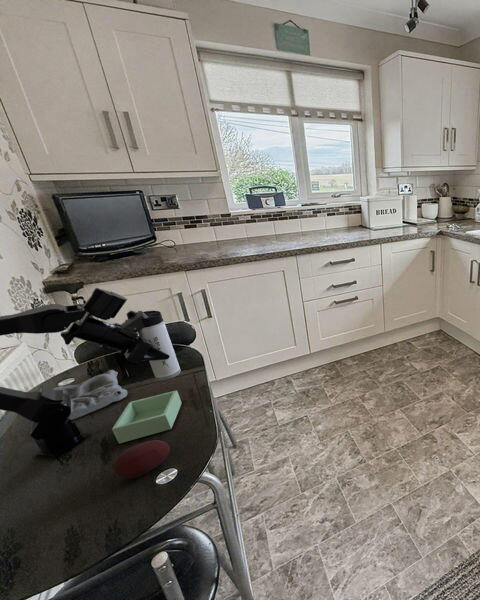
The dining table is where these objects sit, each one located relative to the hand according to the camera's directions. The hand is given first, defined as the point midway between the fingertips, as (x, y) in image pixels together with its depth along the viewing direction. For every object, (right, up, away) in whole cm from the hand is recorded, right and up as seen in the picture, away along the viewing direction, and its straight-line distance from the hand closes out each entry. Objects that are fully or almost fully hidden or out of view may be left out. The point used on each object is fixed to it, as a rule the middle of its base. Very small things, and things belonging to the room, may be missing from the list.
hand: (166, 353), depth 95 cm
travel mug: (0, -7, +1) cm, 7 cm away
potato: (+11, -23, -21) cm, 33 cm away
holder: (+1, -18, -6) cm, 19 cm away
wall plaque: (-30, -15, +8) cm, 35 cm away
